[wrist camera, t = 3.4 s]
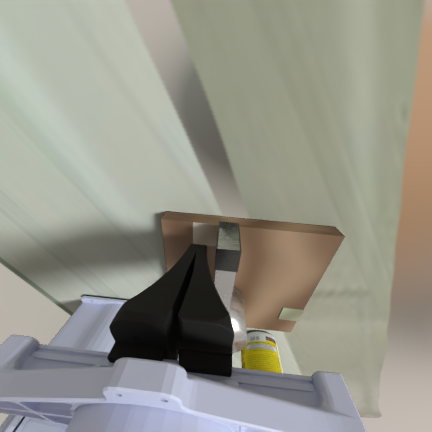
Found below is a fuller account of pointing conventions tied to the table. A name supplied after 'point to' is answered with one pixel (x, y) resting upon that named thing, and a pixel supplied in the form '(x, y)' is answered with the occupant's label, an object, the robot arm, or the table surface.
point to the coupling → (230, 279)
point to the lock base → (261, 261)
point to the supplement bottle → (261, 353)
